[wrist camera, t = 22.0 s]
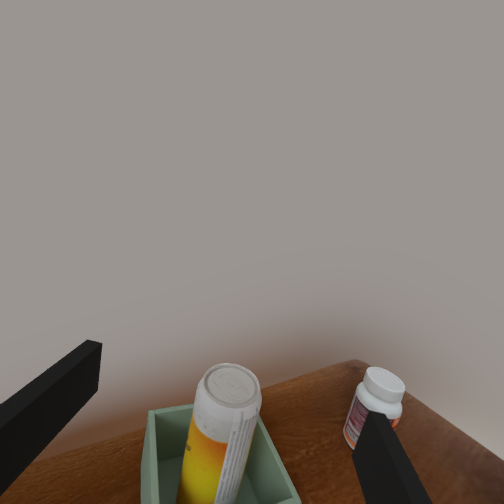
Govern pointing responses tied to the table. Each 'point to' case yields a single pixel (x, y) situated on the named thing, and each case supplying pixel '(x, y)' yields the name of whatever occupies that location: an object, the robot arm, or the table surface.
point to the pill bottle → (374, 401)
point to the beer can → (219, 435)
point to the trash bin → (172, 454)
